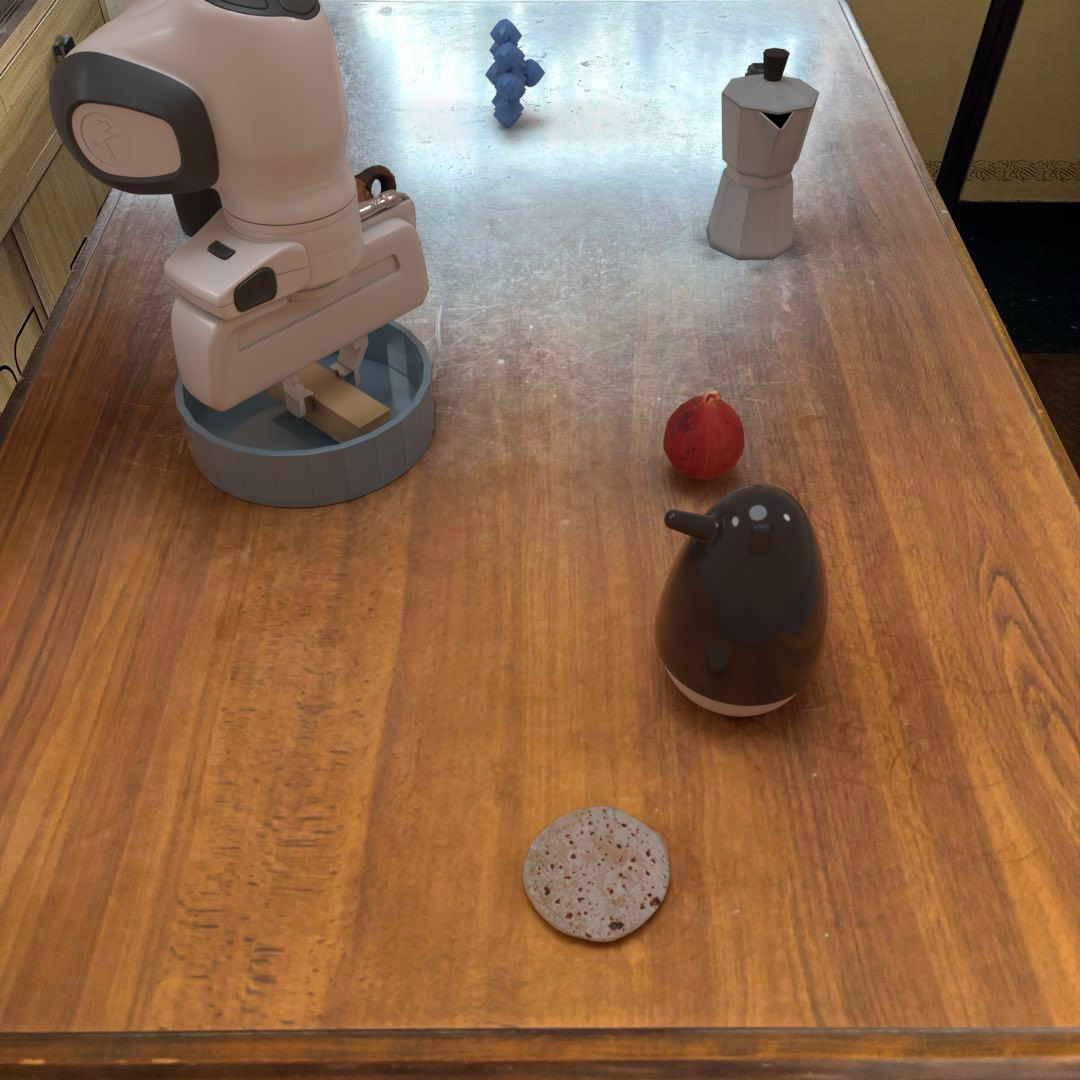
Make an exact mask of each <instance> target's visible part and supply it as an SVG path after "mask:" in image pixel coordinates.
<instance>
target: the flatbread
mask: <svg viewBox="0 0 1080 1080" xmlns="http://www.w3.org/2000/svg"><path fill="white" fill-rule="evenodd" d="M669 857H670V856H669V848H668V843H667V841H666V839H665V837H664V835H663V834H661V832H659V831H656V830H654V829H653V828H651V827H649V826H648V825H647V824H645V823H644V822H643V821H642V820H639V818H636V817H635V816H633V815H632V814H629V813H628V812H625V811H624V810H622V809H620V808H617V807H613V806H609V805H597V806H591V807H581V808H576V809H573V810H571V811H569V812H566V813H563V814H562V815H560V816H558V817H557V818H556V819H554V820H553V821H552V822H551V823H549V824H548V825H547V826H545V828H544V829H543V830H541V831H540V833H538V834H537V836H536V837H534V839H533V841H532V842H531V844H530V846H529V848H528V849H527V852H526V855H525V858H524V860H523V861H524V862H523V865H522V869H521V881H522V882H521V883H522V886H523V889H524V892H525V893H526V896H527V899H528V900H529V902H530V903H531V904H532V906H533V907H534V909H535V911H536V912H537V913H538V914H539V915H540V916H541V917H542V918H543V919H544V921H546V922H547V923H548V924H549V925H551V926H552V927H553V929H555V930H557V931H558V932H560V933H563V934H564V935H567V936H570V937H573V938H578V939H583V940H588V941H591V942H597V943H607V942H612V941H616V940H619V939H622V938H624V937H625V936H627V935H629V934H631V933H633V932H634V931H636V930H638V929H639V928H640V927H641V926H643V925H644V924H645V923H646V921H648V920H649V919H650V918H651V916H653V915H654V913H655V912H656V911H657V909H658V908H659V906H660V905H661V904H662V902H663V901H664V898H665V897H666V894H667V890H668V887H669V884H670V879H671V868H670V858H669Z"/></svg>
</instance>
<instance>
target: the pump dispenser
mask: <svg viewBox="0 0 1080 1080" xmlns="http://www.w3.org/2000/svg"><path fill="white" fill-rule="evenodd" d="M663 523H664V526H665V528H667V529H669V530H672V531H675V532H678V533H679V534H682V535H685V536H687V537H686V538H685V540H684V542H683V543H682V545H681V547H680V549H679V550H678V553H677V554H676V556H675V558H674V560H673V562H672V564H671V567H670V569H669V571H668V573H667V576H666V578H665V582H664V583H663V587H662V590H661V594H660V597H659V600H658V603H657V607H656V611H655V616H654V617H655V618H654V626H653V638H654V639H653V641H654V645H655V648H656V651H657V655H658V656H659V659H660V660H661V662H662V664H663V665H664V668H665V670H666V672H667V674H668V676H669V677H670V680H672V682H673V683H674V685H675V686H676V687H677V688H678V690H679V691H680V692H681V693H682V694H683V695H685V696H686V697H687V698H688V699H689V700H690V701H692V703H695V704H696V705H698V706H699V707H701V708H704V709H706V710H708V711H711V712H713V713H716V714H719V715H724V716H729V717H753V716H759V715H762V714H766V713H769V712H771V711H774V710H776V709H778V708H780V707H782V706H783V705H785V704H786V703H788V702H789V701H790V700H792V699H793V698H795V696H796V695H797V694H798V693H800V692H801V691H802V690H804V689H805V688H806V687H807V686H808V685H809V684H810V683H811V682H812V680H813V679H814V678H816V677H815V676H816V675H817V674H818V671H819V669H820V667H821V664H822V662H823V659H824V655H825V651H826V645H827V639H828V626H829V614H830V613H829V611H830V608H829V607H830V606H829V605H830V603H829V602H830V600H829V599H830V598H829V597H830V596H829V584H828V577H827V570H826V564H825V560H824V556H823V551H822V549H821V545H820V542H819V538H818V535H817V532H816V530H815V527H814V525H813V523H812V521H811V518H810V516H809V515H808V513H807V511H806V509H805V508H804V507H803V505H802V504H801V503H800V502H799V500H798V499H797V498H795V496H793V495H792V494H791V493H789V492H788V491H786V490H785V489H782V488H780V487H779V486H776V485H772V484H768V483H749V484H744V485H740V486H738V487H736V488H733V489H732V490H730V491H728V492H727V493H726V494H724V495H723V496H721V497H720V498H719V499H717V500H716V501H715V502H714V503H713V504H712V505H711V506H710V507H709V508H708V509H707V510H706V512H704V513H703V514H701V513H696V512H690V511H685V510H680V509H674V508H671V509H668V510H667V511H666V513H665V514H664V519H663Z"/></svg>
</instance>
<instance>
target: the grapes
mask: <svg viewBox="0 0 1080 1080" xmlns="http://www.w3.org/2000/svg"><path fill="white" fill-rule="evenodd" d="M489 35H490V37H491V38H492V40H493V41H494V42H493V43H492V45H491V46H490V48H489V50H488V51H489V52H490V53H491V55H492V56H493V57H492V59H493V61H494V62H493V63H492V64H491V65H490V66H489V68H488V69H487V71H486V73H485V74H484V76H485V77H486V78H487V80H488V81H489V82H490V83H491V85H493V87H494V89H495V91H496V92H495V95H494V97H493V98H492V100H491V103H492V105H493V106H494V108H493V110H494V112H493V113H492V116H493V117H494V118H495V120H497V122H498V123H499V124H500V125H501V126H503V127H504V128H511V127H514V125H516V123H517V122H518V121H519V119H520V118H521V116H522V115H523V111H524V110H525V107H524V105H522V103H521V99H522V98H523V97H524V95H525V94H526V91H527V88H534V87H535V86H536V85H538V84H539V83H540V81H541V80H542V78H543V77H544V75H545V74H546V72H545V69H543V68H542V66H541V65H540V64H539V62H537V61H536V60H535V59H533V58H527V59H526V60H525V58H526V55H525V53H524V52H523V51H522V50H521V49H520V48H519V47H518V46H519V41H520V40H522V39H521V38H522V37H523V34H522V33H521V32H520V30H519V29H518V27H517V26H516V24H514V23H513V22H512V21H510V20H509V19H508V18H502V19H500V20H498V22H496V24H494V26H493V28H492V30H491V31H490V32H489ZM526 87H527V88H526Z"/></svg>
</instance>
